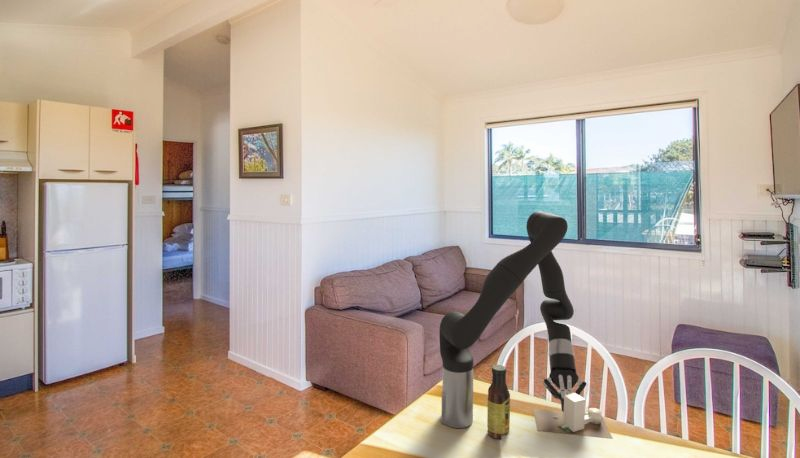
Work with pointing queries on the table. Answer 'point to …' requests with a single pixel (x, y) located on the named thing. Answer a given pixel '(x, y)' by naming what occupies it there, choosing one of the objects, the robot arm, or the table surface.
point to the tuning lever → (578, 413)
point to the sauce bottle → (498, 404)
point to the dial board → (554, 423)
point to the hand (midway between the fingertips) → (567, 413)
